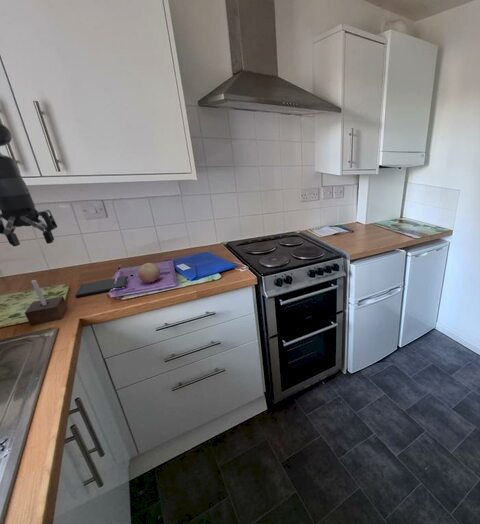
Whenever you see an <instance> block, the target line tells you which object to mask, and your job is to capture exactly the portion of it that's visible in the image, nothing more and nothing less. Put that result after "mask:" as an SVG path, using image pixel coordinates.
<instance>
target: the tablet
mask: <svg viewBox="0 0 480 524" xmlns="http://www.w3.org/2000/svg"><path fill="white" fill-rule="evenodd" d="M115 278H117V282H116V284H115V283H114V282H115ZM115 278H108V279H104V280H98V281H92V282H86V283H82V284H80V285H79V286H80V287H79V289H78V290H77V292H76V294H75V298H76V299H79V298H84V297H91V296H95V295H96V296H97V295H100V294H105V293H110V292H109V291H110V290H111V289H113V288H122V287H126V283H127V279H128V278H129V276H128V275H125V276H120V277H115ZM128 280H129V279H128ZM127 284H128V283H127ZM126 288H127V287H126Z"/></svg>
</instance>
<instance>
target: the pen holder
mask: <svg viewBox="0 0 480 524" xmlns="http://www.w3.org/2000/svg"><path fill="white" fill-rule="evenodd" d="M45 300H46V303H47V305H43V306H42V303H41V301H40V300H35V301H32V302H31V304H29V306H28V307H27V309H26V310H25V311H24V315H25V318H26V319H27V321H28V323H29V325H30V326H35V325H40V324H45V323H50V322H53V321H54V322H55V321H58V319H59V320H62V319H63V318H64V316H65V314H66V312H67V311H68V309H69V307H68V305H67V302H66V300H65V298H64V296H63V295H62V296H57V297H51V298H45Z"/></svg>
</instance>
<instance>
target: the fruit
mask: <svg viewBox="0 0 480 524" xmlns="http://www.w3.org/2000/svg"><path fill="white" fill-rule="evenodd" d="M137 276H138V278H139V280H140V281H142V282H143V283H146V284H151V282H152V283H154V282H155V280H156V281H157V280H158V279H159V278H160V276H161V269H160V267H159V266H158V265H156V264H155V263H153V262H145V263H144V264H142V265H141V266H140V267H139V269H138V271H137Z"/></svg>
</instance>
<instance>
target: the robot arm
mask: <svg viewBox="0 0 480 524" xmlns="http://www.w3.org/2000/svg"><path fill="white" fill-rule="evenodd" d="M12 135H13V134H12V132H11V130H10V129H9V128H8V127H7V126H6V125H5V124H4V123H2V122H0V147H4V146H7V145H9V144H10V143H11V142H12V139H13V136H12ZM0 212H1V213H0V234H1V235H4V236H5V237H6V239H7V241H8V243H9V245H11V246H12V247H18V246H20V245H21V243H20V240H19V238H18V236H17V234H16V232H15V230H16V228H21V227H31V226H32V227H33V228H35V229H38V230H39V231H41V232H42V236H43V238H44V240H45V243H46V244H47V245H48V244H52V243H54V241H55V237H54V235H53V232H52V231H53V230H55V229H57V228H58V225H57V222H56V220H55V218H54V216H53V214H52V212H51V210H50V209H45V210H39V211H38V210H37V208H36V205H35V202H34V200H33V198H32V195H31V192H30V190H29V188H28V186H27V184H26V182H25V181H24V179H23V177H22V175H21V172H20V170H19V168H18V165H17V163H16V161H15V159H13V158H12V157H11V156H8V155H6V154H3V153H2V152H0ZM39 217H40V218H42V219H43V220H42V219H40V218H39ZM3 220H5V221H7V222H6V225H5V224H4V222H3Z"/></svg>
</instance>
